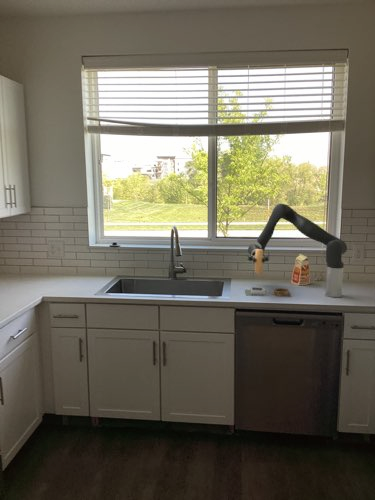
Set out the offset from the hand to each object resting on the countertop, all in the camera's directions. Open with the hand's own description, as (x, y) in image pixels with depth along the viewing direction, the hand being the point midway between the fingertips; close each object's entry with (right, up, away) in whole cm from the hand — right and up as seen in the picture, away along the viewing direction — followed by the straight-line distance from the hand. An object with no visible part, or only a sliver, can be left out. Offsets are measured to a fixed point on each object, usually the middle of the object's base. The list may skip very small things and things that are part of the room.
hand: (259, 260), depth 243 cm
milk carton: (+34, -16, +33) cm, 50 cm away
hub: (0, -20, +6) cm, 21 cm away
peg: (0, -7, +4) cm, 8 cm away
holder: (+14, -21, +3) cm, 25 cm away
